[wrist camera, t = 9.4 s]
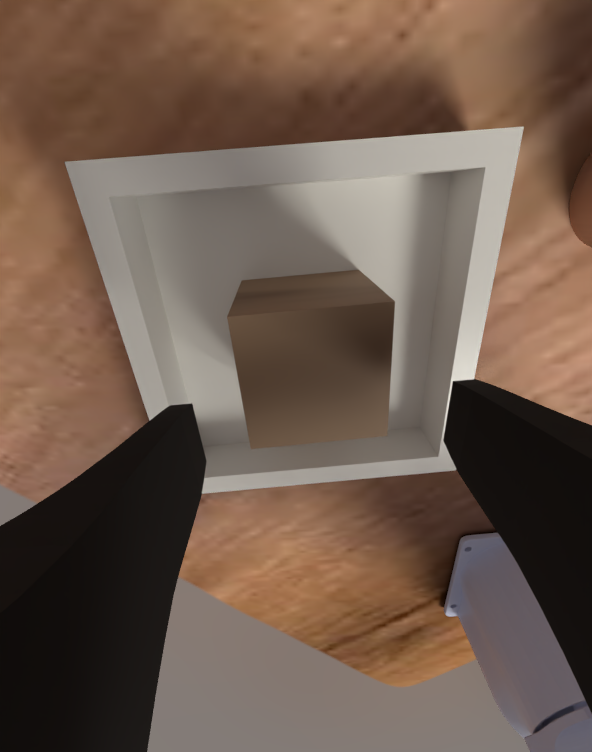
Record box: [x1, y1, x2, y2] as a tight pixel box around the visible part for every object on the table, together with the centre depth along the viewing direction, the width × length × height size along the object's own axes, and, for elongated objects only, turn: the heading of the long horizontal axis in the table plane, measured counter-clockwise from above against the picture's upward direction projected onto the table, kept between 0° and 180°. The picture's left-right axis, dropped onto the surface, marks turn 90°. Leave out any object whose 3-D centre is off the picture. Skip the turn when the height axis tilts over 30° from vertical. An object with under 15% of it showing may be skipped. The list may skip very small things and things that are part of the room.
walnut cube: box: [227, 270, 395, 449], centre depth 13 cm, size 5×5×5 cm
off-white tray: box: [65, 127, 524, 494], centre depth 15 cm, size 14×14×3 cm
